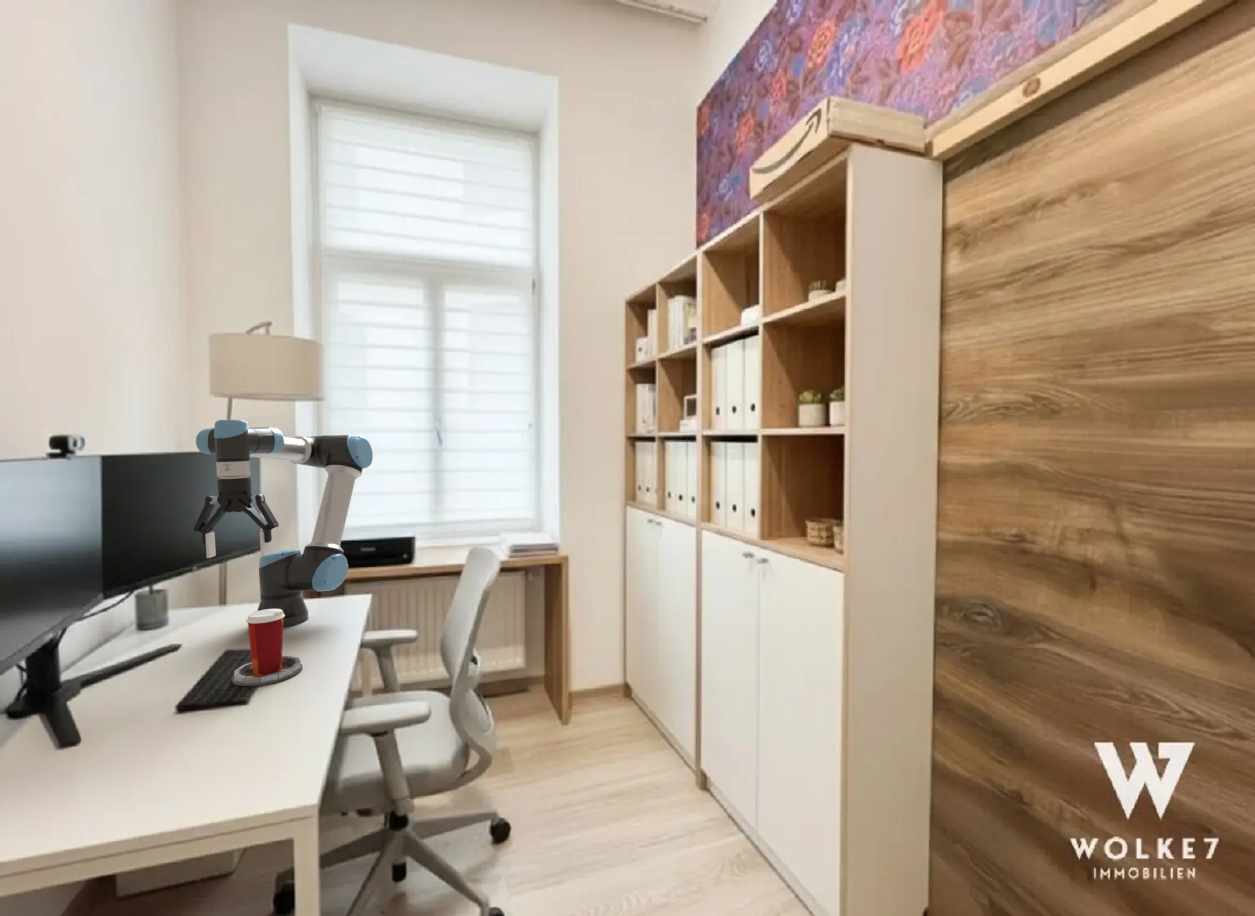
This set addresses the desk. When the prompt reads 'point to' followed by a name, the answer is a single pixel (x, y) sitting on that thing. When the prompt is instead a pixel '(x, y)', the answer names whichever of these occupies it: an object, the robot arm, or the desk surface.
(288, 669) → the ring seat
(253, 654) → the coffee cup
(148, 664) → the desk surface
